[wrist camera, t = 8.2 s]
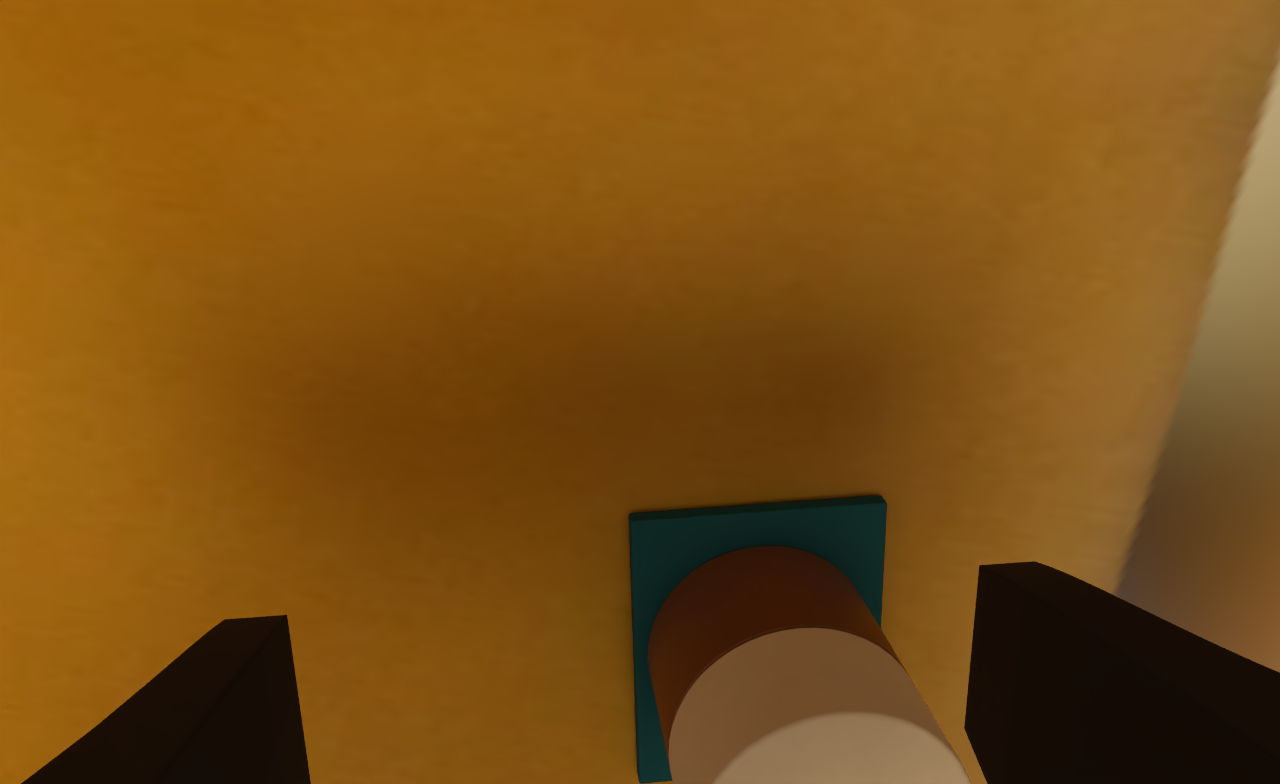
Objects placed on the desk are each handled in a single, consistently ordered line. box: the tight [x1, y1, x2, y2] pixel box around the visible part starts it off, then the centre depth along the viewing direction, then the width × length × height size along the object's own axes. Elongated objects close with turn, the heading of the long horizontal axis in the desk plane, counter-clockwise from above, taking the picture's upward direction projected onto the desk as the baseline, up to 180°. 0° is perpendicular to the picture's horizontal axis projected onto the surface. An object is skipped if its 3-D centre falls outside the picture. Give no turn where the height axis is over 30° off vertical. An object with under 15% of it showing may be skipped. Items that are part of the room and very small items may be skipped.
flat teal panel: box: [629, 495, 887, 784], centre depth 22 cm, size 6×5×1 cm
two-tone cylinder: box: [648, 546, 970, 784], centre depth 20 cm, size 4×4×6 cm
